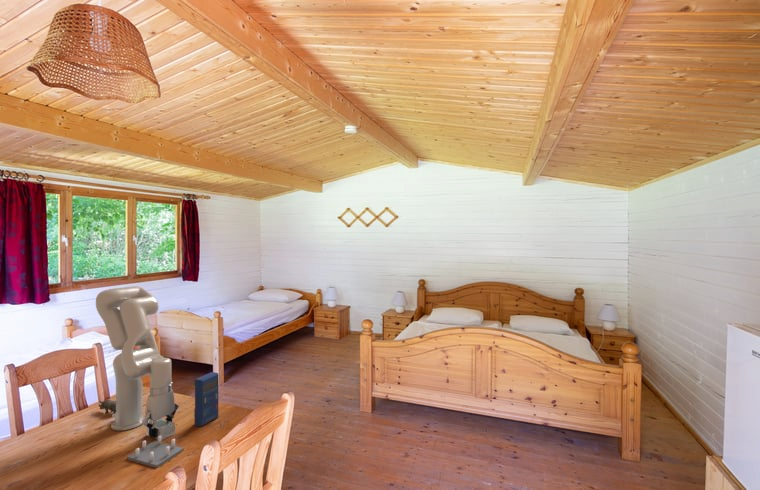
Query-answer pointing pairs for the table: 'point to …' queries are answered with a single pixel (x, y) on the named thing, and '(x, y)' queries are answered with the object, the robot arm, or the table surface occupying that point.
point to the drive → (163, 429)
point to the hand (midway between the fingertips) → (161, 432)
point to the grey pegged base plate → (155, 453)
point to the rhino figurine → (108, 406)
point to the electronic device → (206, 399)
